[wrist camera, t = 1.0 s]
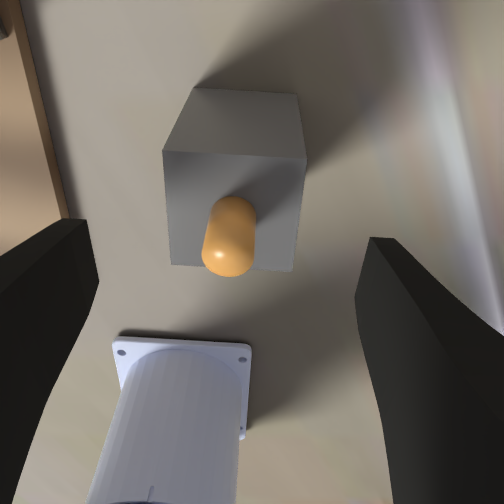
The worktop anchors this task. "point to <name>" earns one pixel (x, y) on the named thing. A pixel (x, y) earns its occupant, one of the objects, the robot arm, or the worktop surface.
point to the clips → (2, 30)
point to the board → (24, 141)
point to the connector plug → (235, 181)
